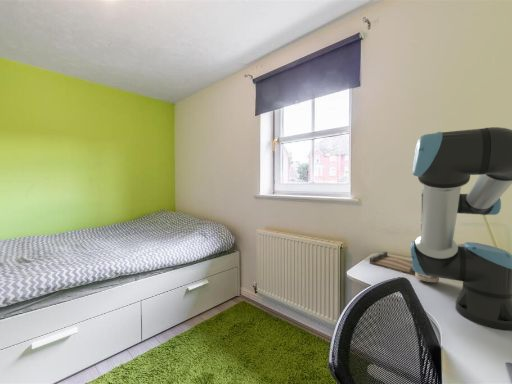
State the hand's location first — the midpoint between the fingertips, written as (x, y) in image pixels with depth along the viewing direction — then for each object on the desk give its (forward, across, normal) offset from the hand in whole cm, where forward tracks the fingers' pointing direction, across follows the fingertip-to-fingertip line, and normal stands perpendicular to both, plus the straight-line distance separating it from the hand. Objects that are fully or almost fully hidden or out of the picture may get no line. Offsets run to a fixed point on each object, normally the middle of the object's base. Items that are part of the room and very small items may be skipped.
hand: (430, 274), depth 103 cm
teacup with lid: (+3, +1, 0) cm, 3 cm away
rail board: (+3, +12, +18) cm, 22 cm away
